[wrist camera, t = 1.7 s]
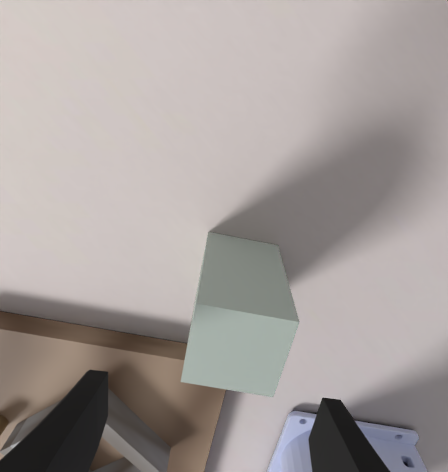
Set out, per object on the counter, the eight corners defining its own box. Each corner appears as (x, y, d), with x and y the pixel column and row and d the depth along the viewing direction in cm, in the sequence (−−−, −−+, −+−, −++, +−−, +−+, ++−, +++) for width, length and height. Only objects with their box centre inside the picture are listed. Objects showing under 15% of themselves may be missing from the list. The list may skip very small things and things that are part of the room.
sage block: (277, 245, 20) (299, 322, 13) (261, 303, 21) (273, 397, 15) (208, 231, 19) (196, 303, 13) (196, 291, 21) (180, 381, 15)
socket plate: (231, 351, 23) (231, 395, 20) (192, 498, 29) (187, 550, 26) (-18, 308, 22) (-61, 346, 19) (-2, 469, 28) (-33, 519, 25)
